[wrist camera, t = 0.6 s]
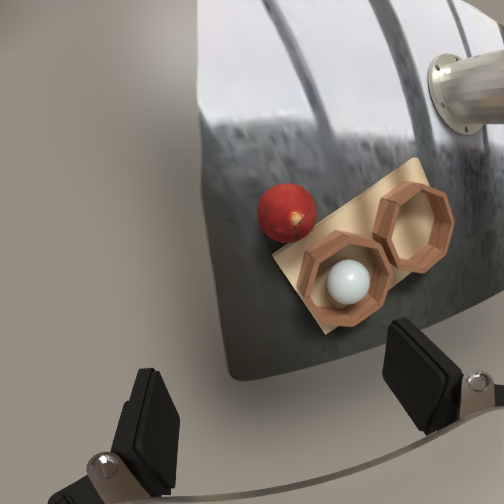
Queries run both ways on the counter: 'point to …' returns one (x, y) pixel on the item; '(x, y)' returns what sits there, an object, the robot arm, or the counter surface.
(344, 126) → the counter surface
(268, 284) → the counter surface
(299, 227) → the onion
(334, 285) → the white ball
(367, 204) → the pot board
